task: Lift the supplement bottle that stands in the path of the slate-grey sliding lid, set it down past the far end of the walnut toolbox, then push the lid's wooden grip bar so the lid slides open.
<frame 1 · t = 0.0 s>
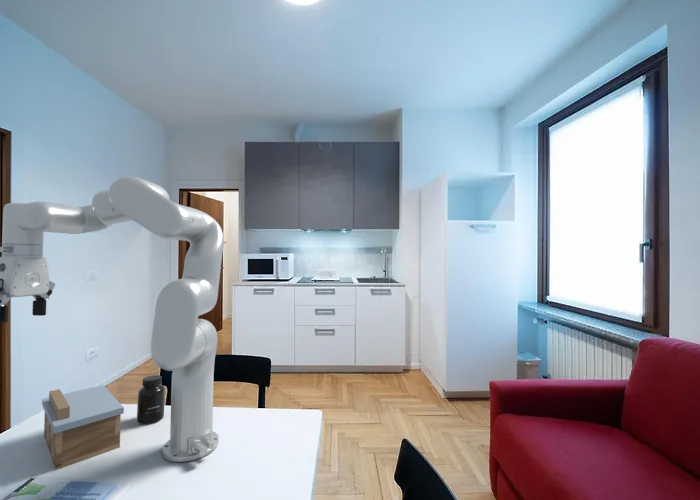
hand: (20, 318, 84), 31 cm above the table, tool pointing down, fingers open, 9 cm apart
toolbox lid: (82, 401, 84), point 10 cm above the table, slide at 0.0 cm
toolbox: (80, 441, 84), on the table
supplement bottle: (150, 420, 96), on the table
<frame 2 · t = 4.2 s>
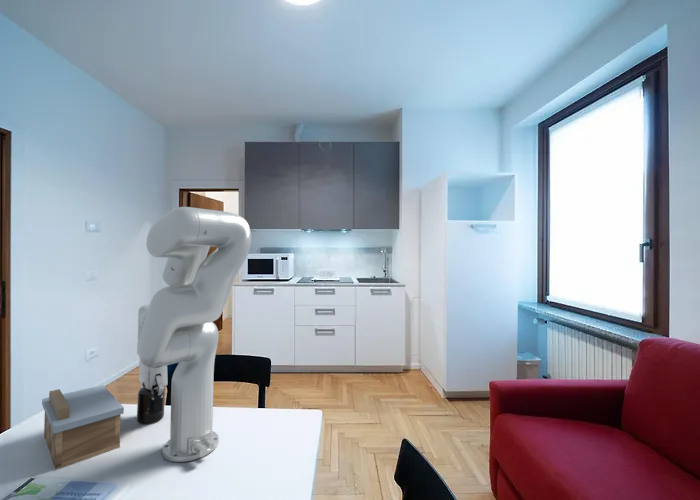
hand: (151, 407, 96), 3 cm above the table, tool pointing down, fingers closed on supplement bottle, 6 cm apart
supplement bottle: (150, 420, 96), on the table, touching gripper
everything else where it was.
when the fingers open (5 cm above the table, at t = 12.9 s): supplement bottle drops 1 cm, on the table.
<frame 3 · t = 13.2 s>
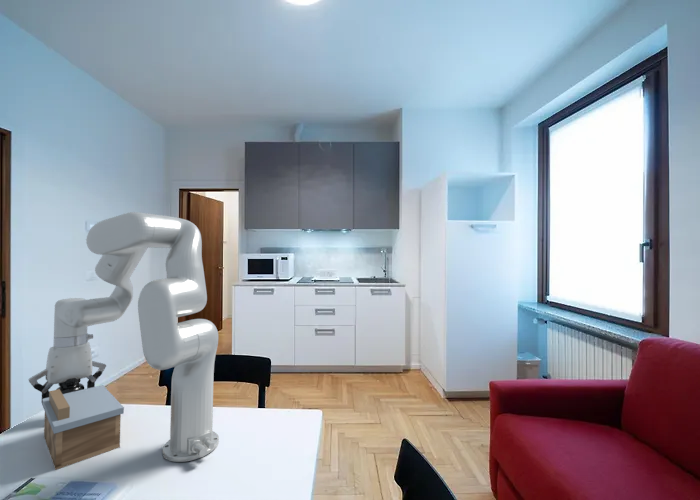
hand: (68, 400, 96), 5 cm above the table, tool pointing down, fingers open, 9 cm apart
supplement bottle: (68, 419, 96), on the table
everything else where it was.
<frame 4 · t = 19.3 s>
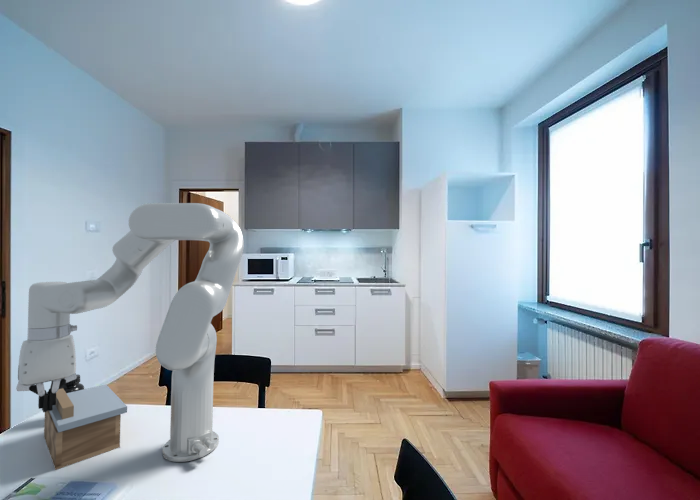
hand: (47, 409, 79), 10 cm above the table, tool pointing down, fingers closed
toolbox lid: (85, 400, 85), point 10 cm above the table, slide at 0.7 cm, touching gripper
everything else where it was.
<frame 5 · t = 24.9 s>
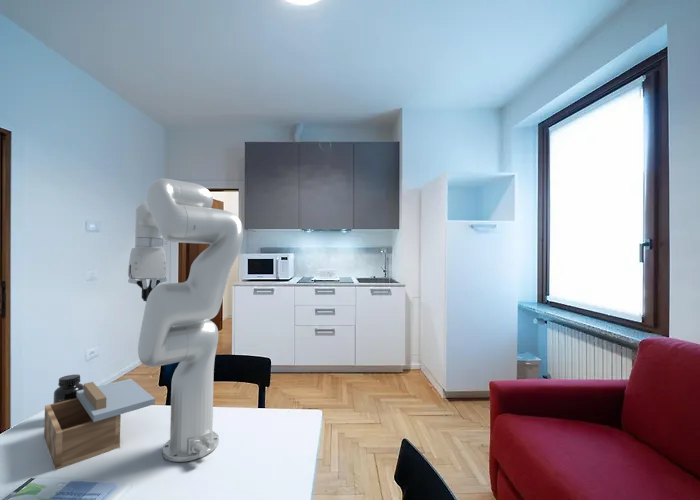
hand: (147, 300, 106), 33 cm above the table, tool pointing down, fingers closed
toolbox lid: (114, 392, 90), point 10 cm above the table, slide at 7.0 cm
everything else where it was.
at the end: toolbox lid slide at 7.0 cm; supplement bottle inside the target area (0.2 cm from its centre), on the table; supplement bottle tilted 0° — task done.
